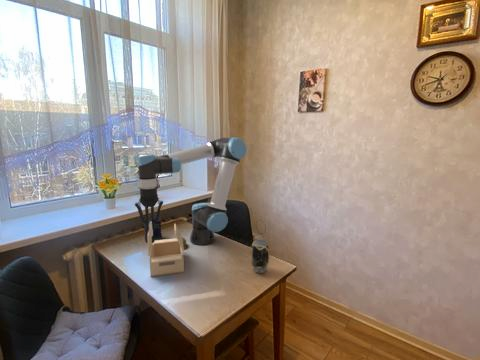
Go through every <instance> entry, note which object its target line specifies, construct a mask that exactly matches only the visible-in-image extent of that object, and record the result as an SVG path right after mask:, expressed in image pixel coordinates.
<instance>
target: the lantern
mask: <svg viewBox="0 0 480 360" xmlns="http://www.w3.org/2000/svg"><path fill="white" fill-rule="evenodd" d="M258 221H259V219H257V221H256V222H255V224H257V223H258ZM260 221H261V222H262V223H263V224H264V232H260V231H259V230H258V226H255V228H256V231H257V233H259V234H257V235H256V236H254V240H253V242H252V244H251V247H252V253H251V254H252V256H251V257H252V258H251V266H252V267H253V271H255V272H256V273H260V274H261V273H265V272H267V270H268V266H269V265H268V264H269V261H270V255H269V254H270V251H269V246H268V244H269V243H268V242H267V237H266V236H264V234H265V232H266V230H267V229H266V224H265V221H264V220H262V219H260Z"/></svg>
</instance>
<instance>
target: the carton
mask: <svg viewBox="0 0 480 360" xmlns="http://www.w3.org/2000/svg"><path fill="white" fill-rule="evenodd" d="M184 261H185V259H184V252H183V251H182V249H181V247H180V244H179V242H178V240H177V238H176V237H173V238H167V239H166V238H165V239H162V240H155V242H154V243H152V245H151V251H150V256H149V270H150V272H149V273H150V278H153V277H160V276H161V277H162V276H167V275H174V274H181V273H184V272H185V265H184V264H185V263H184Z"/></svg>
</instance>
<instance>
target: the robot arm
mask: <svg viewBox="0 0 480 360" xmlns="http://www.w3.org/2000/svg"><path fill="white" fill-rule="evenodd" d="M246 154H247V145H246V143H245V141H244V140H243V139H242V138H240V137H235V136H234V137H221V138H217V139H214V140H210V141H208V142H205V144H202V145H200V146H196V147H191V148H186V149H182V150H179V151H175V152H171V153H168V154H162V155H160V156H159V155H157V156H155V154H154V153H153V154H140V155H138V157H137V168H138V169H137V170H138V183H139V200H138V201H136V202H135V203H134V207H136V208H137V211H138V214H139V217H140V220H141V222H142V223H144V222H145V223H146V227H147V230H149V231H150V237H151V236H153V229H155V222H156V221H158V219H159V218H160V213H161V209H162V206H163V204H164V201H163V200H161V199H160V198H159V197H158V188H157V185H158V184H157V175H162V174H163V175H165V174H175V173H179V172H180V171H181V170H182V169H181V168H182V166H183V165H186V164H189V163H193V162H197V161H199V160H204V159H206V158H210V159H213V158H219V160H220V165H219V169H218V173H217V176H216V181H215V183H214V187H213V191H212V194H211V199H210V202H199V203H195V204H192V207H191V220H192V221H191V223H192V229H191V232H190V236H189V241H190V243H191V244H193V245H201V246H202V245H207V244H211V243H213V242H214V241H216V240H215V239H216V237H215V233H219V232H221V231H222V230H224V229H225V228H226V227H227V225H228V222H229V217H228V216H227V207H226V204H227V200H228V197H229V196H228V195H229V193H230V189H231V184H232V182H233V177H234V174H235V170H236V166H238V164H240V162H241V159H243V158H244V157H245V156H246ZM157 204H158V207H157V212H156V216H155V207H156V205H157ZM141 205H143V207H144V211H145V215H144V213H143V210H142V206H141ZM149 208H150V212H149ZM150 213H151V214H150ZM150 216H151V217H150ZM154 217H156V218H154ZM149 218H151V219H152V222H149Z"/></svg>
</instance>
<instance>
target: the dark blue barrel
mask: <svg viewBox="0 0 480 360" xmlns="http://www.w3.org/2000/svg"><path fill="white" fill-rule="evenodd" d="M154 218H156V216H154ZM149 222H152V219H151V217H149ZM143 227H144V233H145V234H144V242H145V243H146V244H148V239H147V235H148V231H149V230H147V227H146V223H145V222H143ZM162 234H163V233H162V219H161V217H159V219H158V221H156V222H155V229H153V236H152V243H154V242H155V240H163V235H162Z"/></svg>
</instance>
